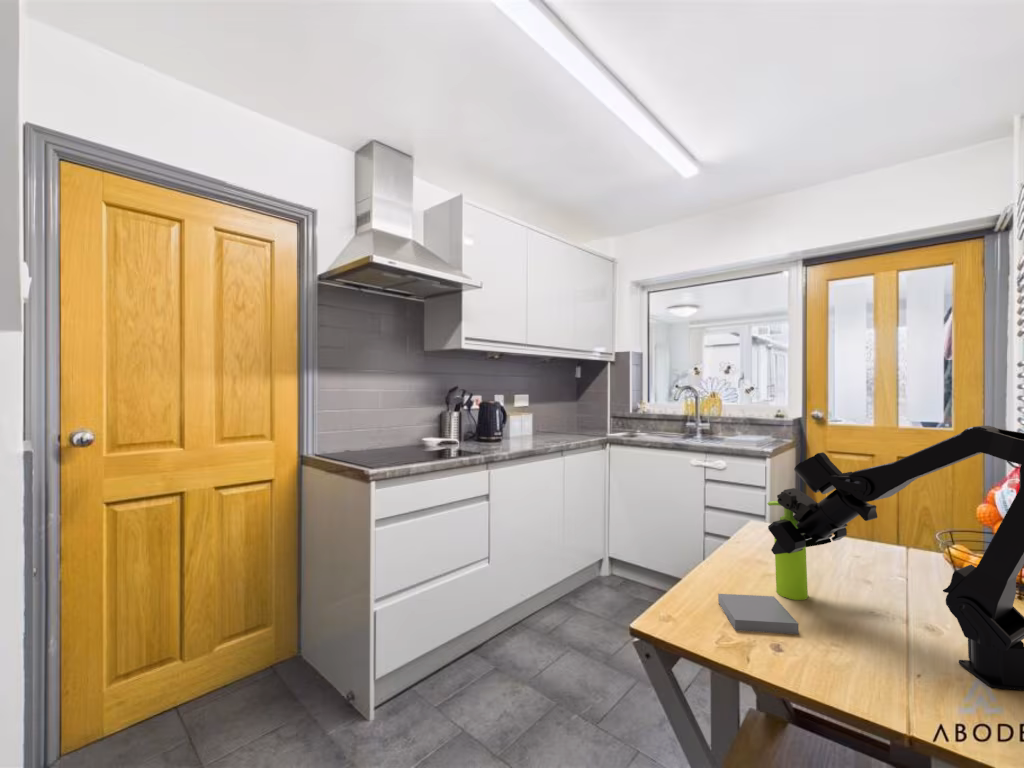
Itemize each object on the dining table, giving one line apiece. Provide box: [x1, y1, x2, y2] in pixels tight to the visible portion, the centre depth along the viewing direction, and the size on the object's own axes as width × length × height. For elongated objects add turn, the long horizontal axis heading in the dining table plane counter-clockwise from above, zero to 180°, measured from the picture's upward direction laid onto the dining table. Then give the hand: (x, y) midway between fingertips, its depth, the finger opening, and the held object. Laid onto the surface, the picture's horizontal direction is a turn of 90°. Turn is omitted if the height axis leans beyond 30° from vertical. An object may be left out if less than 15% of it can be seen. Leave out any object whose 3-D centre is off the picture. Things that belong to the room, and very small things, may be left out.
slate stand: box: [717, 593, 799, 635], centre depth 91 cm, size 11×11×2 cm
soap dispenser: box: [767, 500, 809, 601], centre depth 101 cm, size 6×7×20 cm
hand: (781, 549), depth 102 cm, fingers closed on soap dispenser, 6 cm apart
